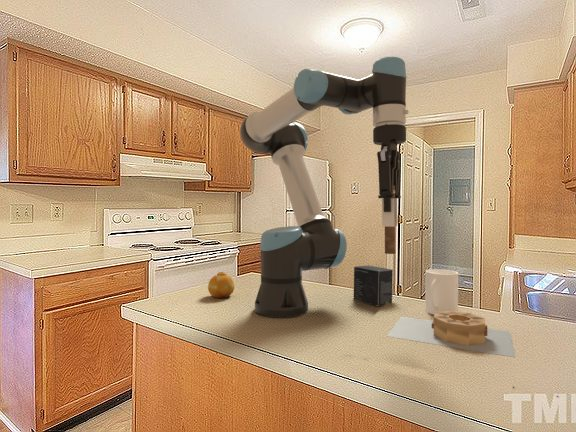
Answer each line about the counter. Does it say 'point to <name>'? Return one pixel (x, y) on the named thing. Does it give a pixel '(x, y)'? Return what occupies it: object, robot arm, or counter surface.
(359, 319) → the counter surface
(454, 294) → the mug
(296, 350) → the counter surface
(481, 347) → the board
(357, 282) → the box
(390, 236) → the brown cigar
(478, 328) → the bead
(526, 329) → the counter surface
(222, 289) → the fruit
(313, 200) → the robot arm
